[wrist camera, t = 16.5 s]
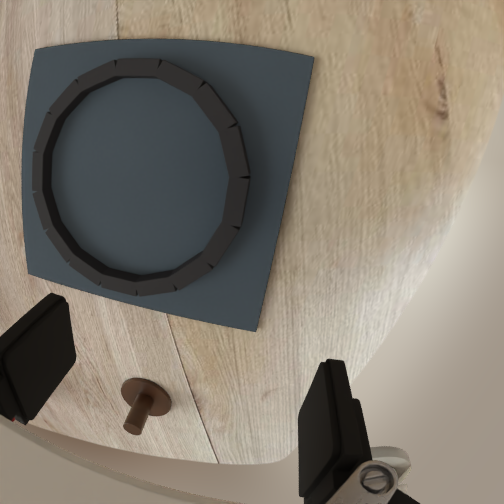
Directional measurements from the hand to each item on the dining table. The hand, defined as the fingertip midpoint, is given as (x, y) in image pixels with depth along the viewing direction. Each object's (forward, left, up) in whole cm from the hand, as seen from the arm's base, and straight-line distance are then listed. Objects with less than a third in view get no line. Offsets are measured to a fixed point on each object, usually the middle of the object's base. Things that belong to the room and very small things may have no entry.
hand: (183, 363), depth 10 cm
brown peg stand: (+9, +26, -19) cm, 34 cm away
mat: (+11, -2, -19) cm, 22 cm away
